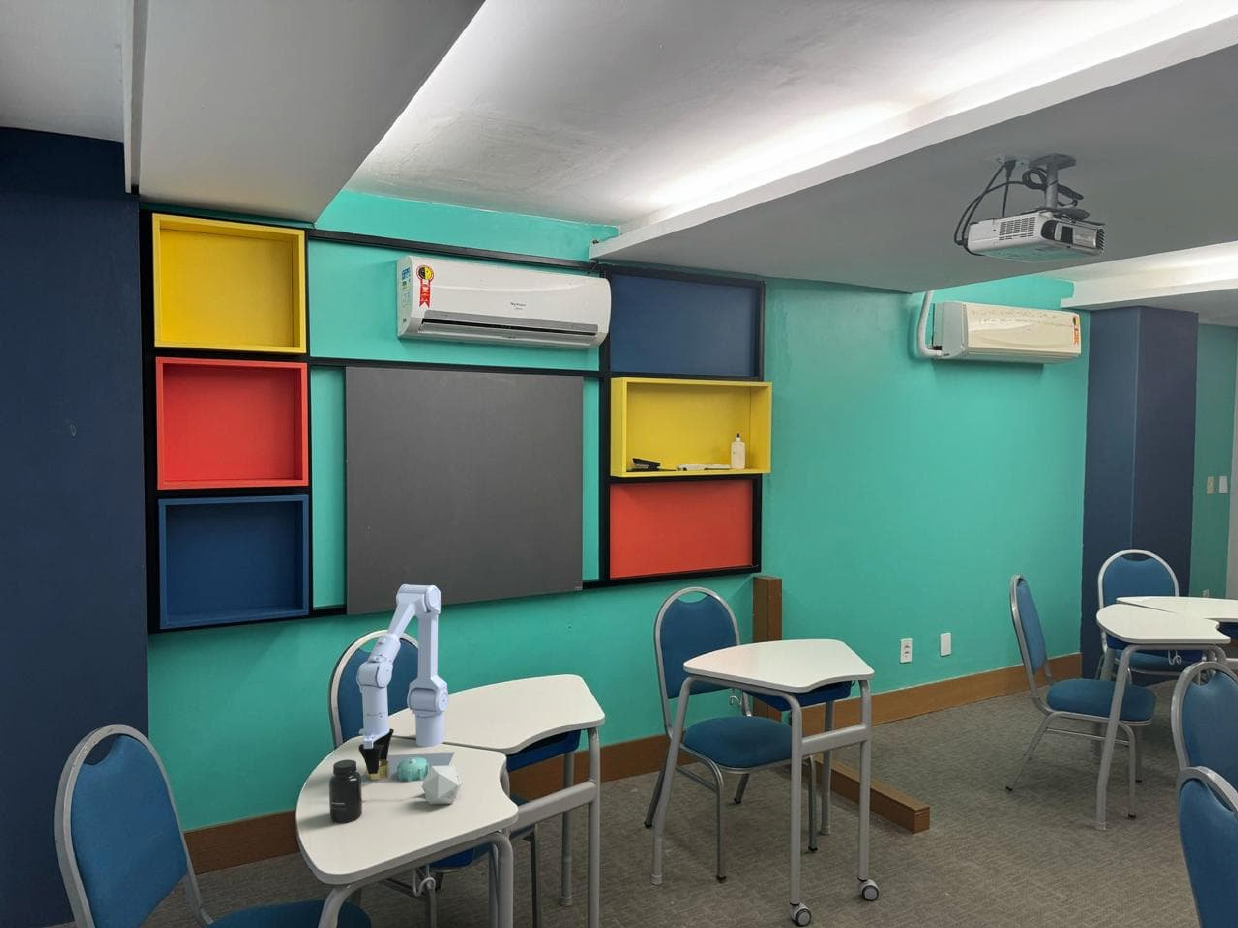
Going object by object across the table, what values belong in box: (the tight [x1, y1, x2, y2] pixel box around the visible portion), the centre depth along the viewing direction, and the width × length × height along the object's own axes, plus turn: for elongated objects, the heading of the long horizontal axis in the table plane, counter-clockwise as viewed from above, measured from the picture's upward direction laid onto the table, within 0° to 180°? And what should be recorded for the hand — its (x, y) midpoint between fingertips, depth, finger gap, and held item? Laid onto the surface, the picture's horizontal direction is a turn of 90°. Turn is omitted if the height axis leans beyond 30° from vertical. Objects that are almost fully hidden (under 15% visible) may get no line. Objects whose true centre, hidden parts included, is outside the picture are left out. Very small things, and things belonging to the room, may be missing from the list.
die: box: [421, 764, 463, 806], centre depth 190 cm, size 8×9×10 cm
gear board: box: [361, 751, 455, 784], centre depth 207 cm, size 17×20×5 cm
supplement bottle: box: [328, 759, 363, 824], centre depth 183 cm, size 7×7×12 cm
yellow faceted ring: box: [365, 759, 390, 781], centre depth 202 cm, size 5×5×3 cm
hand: (377, 766), depth 202 cm, fingers open, 7 cm apart
